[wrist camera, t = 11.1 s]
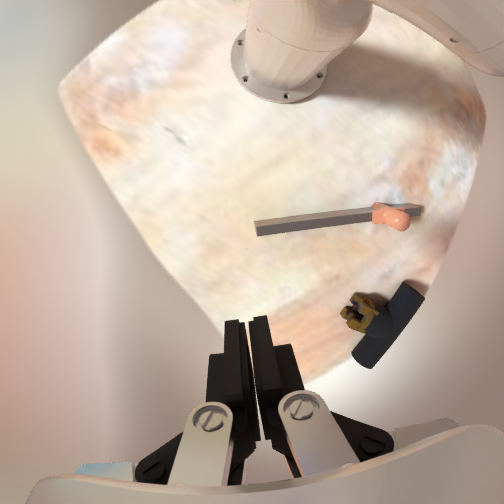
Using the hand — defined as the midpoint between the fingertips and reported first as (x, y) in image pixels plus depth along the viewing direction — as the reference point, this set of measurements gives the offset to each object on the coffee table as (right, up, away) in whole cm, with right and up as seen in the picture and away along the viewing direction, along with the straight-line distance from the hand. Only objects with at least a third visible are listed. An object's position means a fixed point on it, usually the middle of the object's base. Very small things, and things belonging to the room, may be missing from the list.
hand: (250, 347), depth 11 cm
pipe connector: (+20, -6, +33) cm, 39 cm away
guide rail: (+12, +9, +26) cm, 31 cm away
